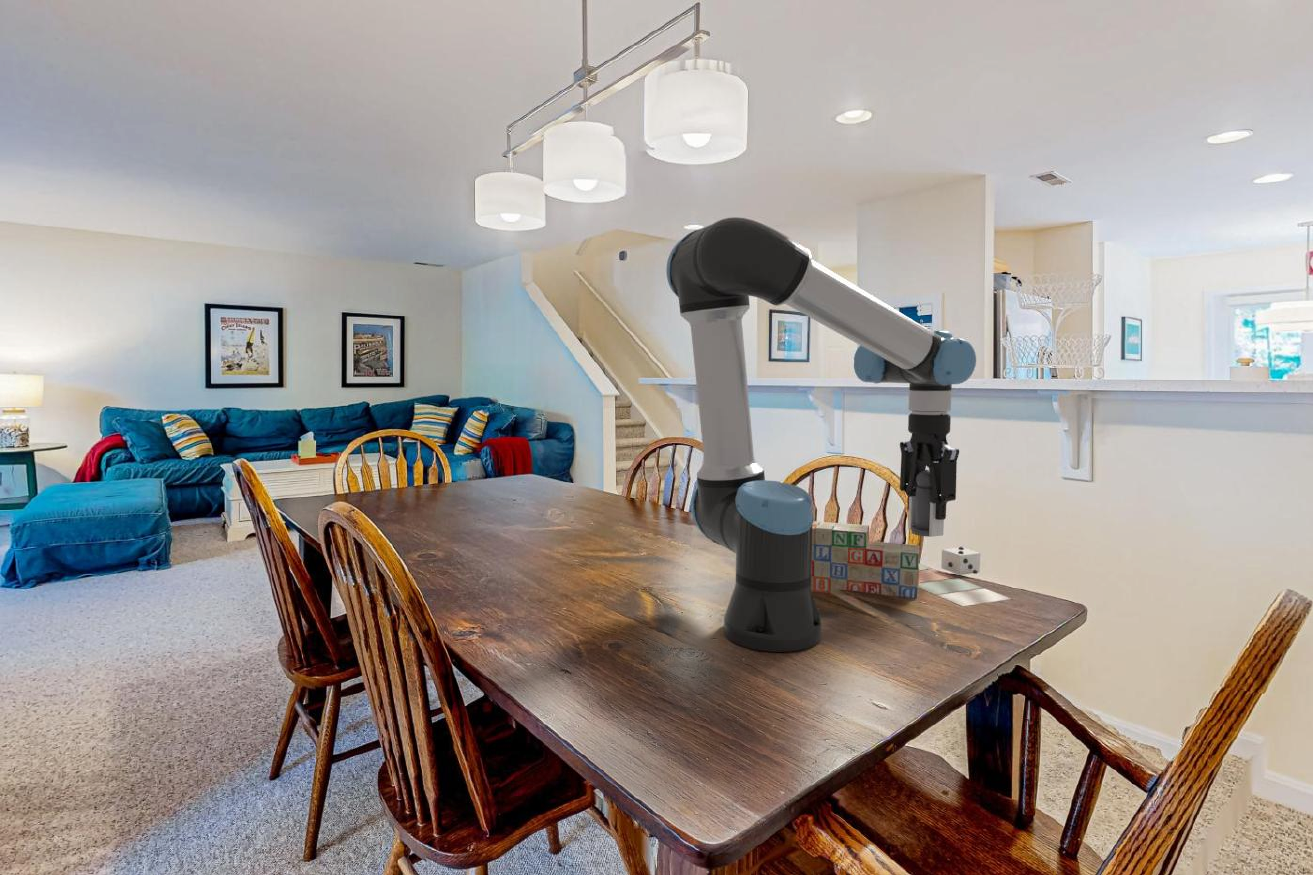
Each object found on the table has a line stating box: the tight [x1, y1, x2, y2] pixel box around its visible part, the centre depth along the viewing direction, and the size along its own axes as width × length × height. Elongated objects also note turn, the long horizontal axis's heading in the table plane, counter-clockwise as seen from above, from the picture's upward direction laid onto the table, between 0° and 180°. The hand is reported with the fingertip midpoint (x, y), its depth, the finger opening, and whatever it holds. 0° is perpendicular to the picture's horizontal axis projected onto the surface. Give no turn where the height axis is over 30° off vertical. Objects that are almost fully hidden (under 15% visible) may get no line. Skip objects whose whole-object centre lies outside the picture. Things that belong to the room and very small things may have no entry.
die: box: [940, 546, 981, 576], centre depth 140 cm, size 6×6×6 cm
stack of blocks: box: [811, 520, 921, 599], centre depth 130 cm, size 21×6×12 cm, turn 67°
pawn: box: [910, 469, 934, 538], centre depth 135 cm, size 5×5×12 cm
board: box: [918, 563, 1012, 607], centre depth 134 cm, size 12×26×1 cm, turn 20°
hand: (925, 531), depth 136 cm, fingers closed on pawn, 5 cm apart
